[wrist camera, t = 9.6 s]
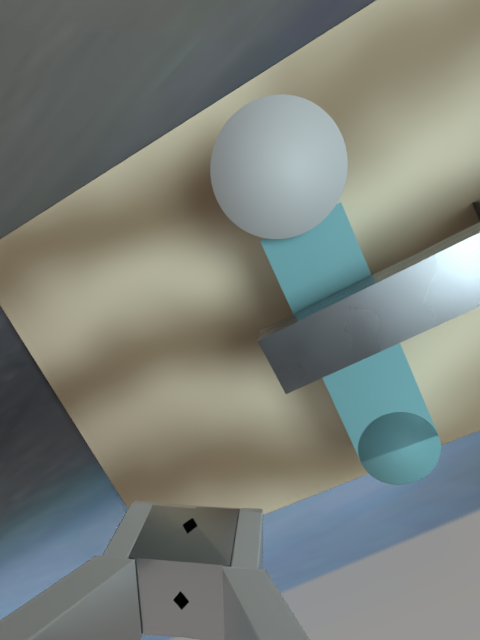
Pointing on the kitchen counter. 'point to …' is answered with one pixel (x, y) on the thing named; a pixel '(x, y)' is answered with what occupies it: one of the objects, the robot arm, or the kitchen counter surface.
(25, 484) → the kitchen counter surface
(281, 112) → the lever with ball knob
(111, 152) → the kitchen counter surface
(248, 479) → the base board
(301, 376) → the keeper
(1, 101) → the kitchen counter surface
